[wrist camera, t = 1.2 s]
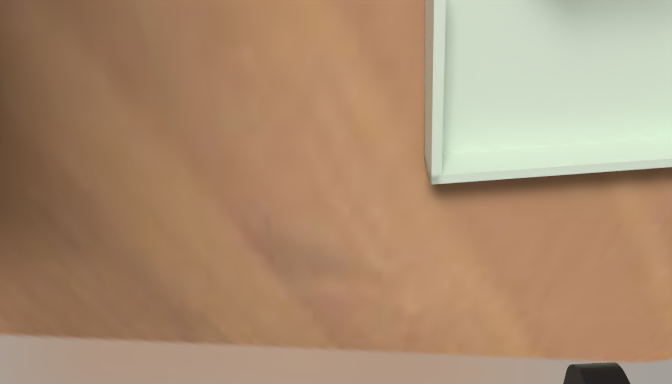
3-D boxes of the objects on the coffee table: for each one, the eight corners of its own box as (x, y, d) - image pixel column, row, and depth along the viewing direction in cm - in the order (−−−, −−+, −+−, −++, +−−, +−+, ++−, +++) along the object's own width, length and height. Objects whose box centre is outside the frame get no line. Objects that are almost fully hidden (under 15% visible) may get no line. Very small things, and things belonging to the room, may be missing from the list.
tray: (425, -35, 29) (434, -19, 27) (741, -59, 29) (775, -46, 26) (424, 159, 34) (431, 184, 32) (689, 139, 34) (713, 163, 32)
